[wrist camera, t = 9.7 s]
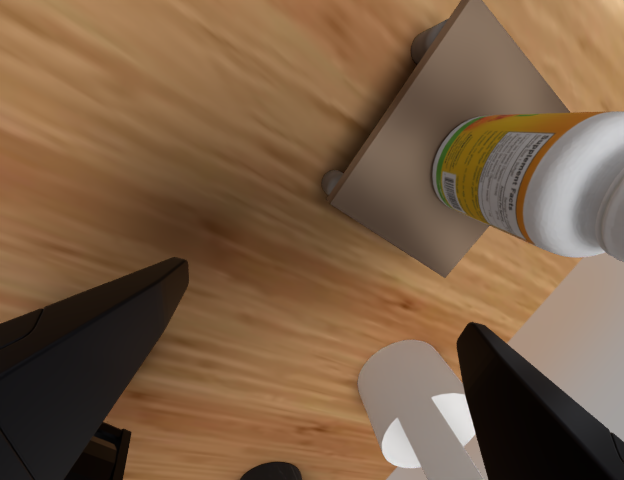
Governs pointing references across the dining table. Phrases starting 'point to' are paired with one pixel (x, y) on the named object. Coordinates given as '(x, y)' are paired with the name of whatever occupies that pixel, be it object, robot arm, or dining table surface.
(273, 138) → the dining table surface
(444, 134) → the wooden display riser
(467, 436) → the base with upright slab
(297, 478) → the travel mug
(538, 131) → the supplement bottle
